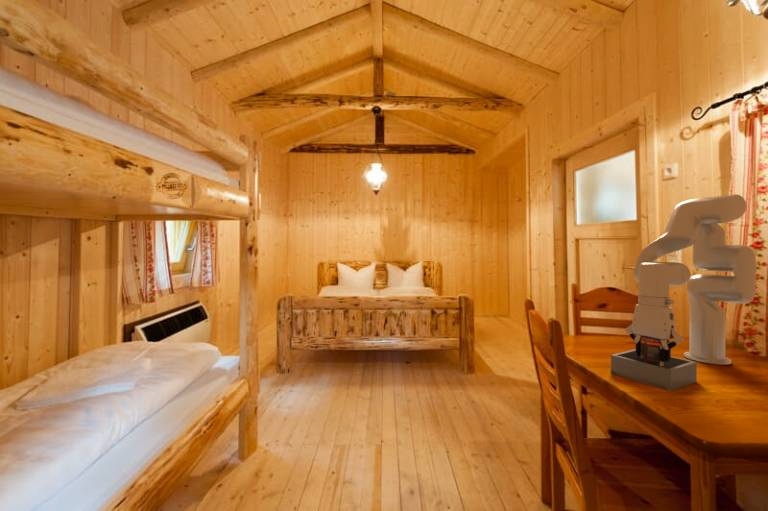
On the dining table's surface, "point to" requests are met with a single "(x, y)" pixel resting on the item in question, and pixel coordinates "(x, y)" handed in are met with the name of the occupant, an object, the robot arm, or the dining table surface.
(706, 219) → the robot arm
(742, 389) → the dining table surface
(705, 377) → the dining table surface
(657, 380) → the bin
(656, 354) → the supplement bottle
